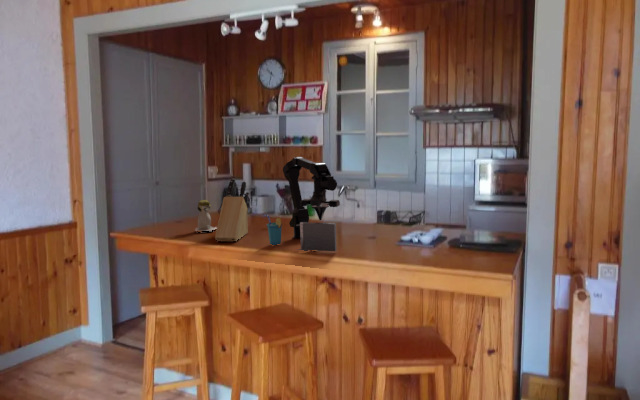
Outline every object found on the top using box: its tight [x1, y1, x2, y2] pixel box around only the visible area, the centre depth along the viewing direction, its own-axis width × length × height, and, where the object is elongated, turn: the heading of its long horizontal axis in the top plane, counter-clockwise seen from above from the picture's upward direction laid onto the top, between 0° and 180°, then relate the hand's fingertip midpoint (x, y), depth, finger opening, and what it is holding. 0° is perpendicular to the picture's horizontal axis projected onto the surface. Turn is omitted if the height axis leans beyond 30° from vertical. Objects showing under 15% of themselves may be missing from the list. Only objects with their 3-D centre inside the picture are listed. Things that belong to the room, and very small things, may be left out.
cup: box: [261, 214, 283, 245], centre depth 239 cm, size 14×8×15 cm, turn 52°
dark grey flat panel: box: [300, 222, 337, 252], centre depth 220 cm, size 2×17×12 cm, turn 70°
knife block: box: [214, 178, 251, 242], centre depth 262 cm, size 11×35×31 cm, turn 174°
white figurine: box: [194, 199, 217, 232], centre depth 280 cm, size 12×13×18 cm
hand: (320, 220), depth 237 cm, fingers closed
